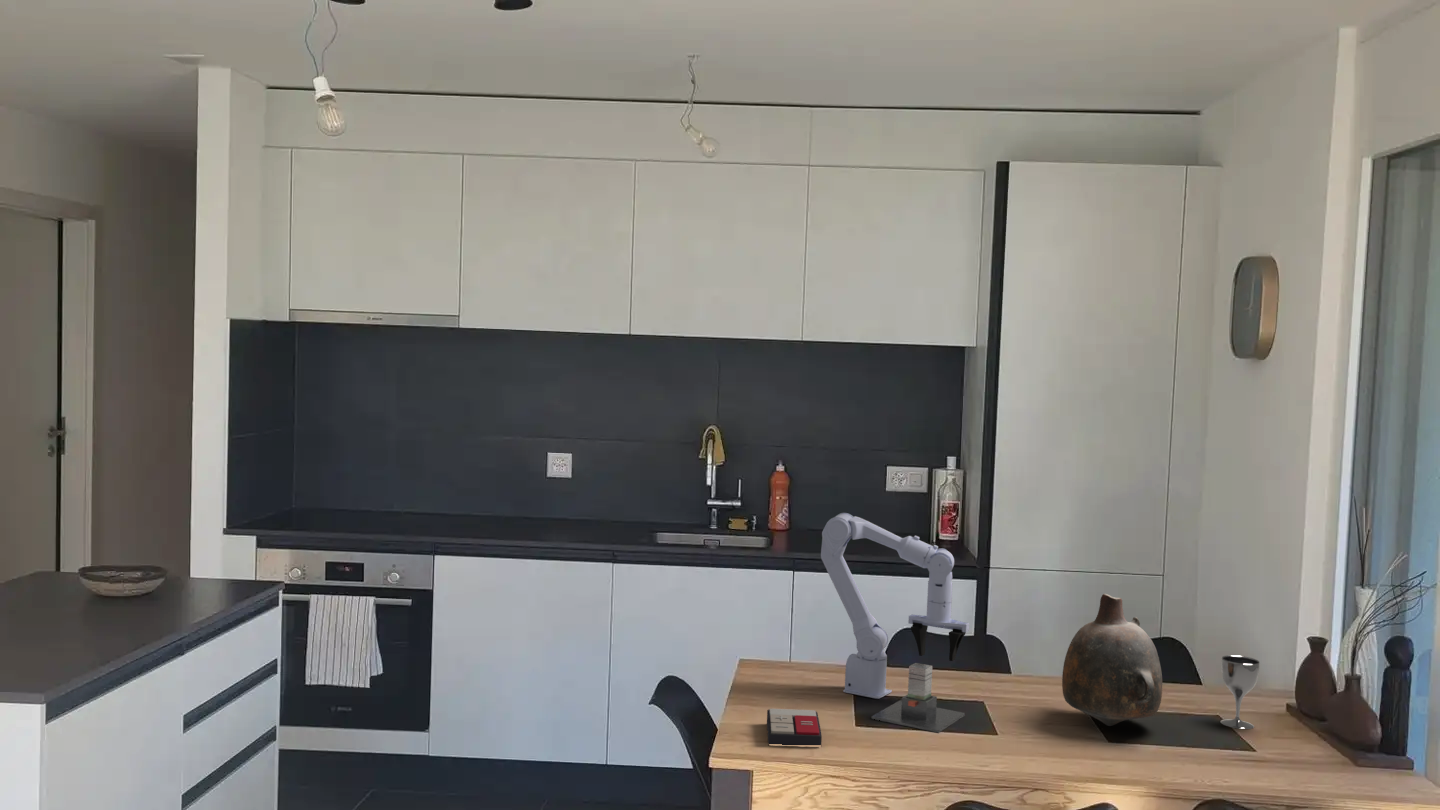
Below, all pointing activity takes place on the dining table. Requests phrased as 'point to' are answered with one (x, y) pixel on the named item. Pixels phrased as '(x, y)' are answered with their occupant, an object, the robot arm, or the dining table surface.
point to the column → (920, 682)
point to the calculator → (793, 727)
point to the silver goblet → (1239, 683)
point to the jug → (1112, 668)
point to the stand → (919, 714)
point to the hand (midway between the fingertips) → (937, 657)
